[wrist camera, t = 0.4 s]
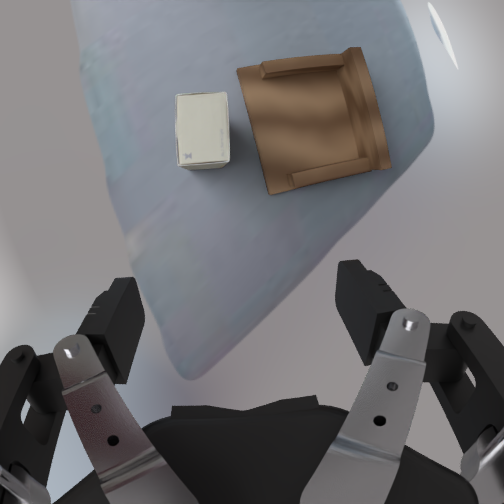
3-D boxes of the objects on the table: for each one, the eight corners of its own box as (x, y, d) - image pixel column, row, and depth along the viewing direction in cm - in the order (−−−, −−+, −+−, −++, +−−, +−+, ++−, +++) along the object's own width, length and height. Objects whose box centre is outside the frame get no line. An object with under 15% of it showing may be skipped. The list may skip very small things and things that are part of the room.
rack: (236, 71, 33) (242, 53, 27) (339, 58, 34) (359, 43, 28) (268, 194, 37) (280, 198, 32) (367, 170, 38) (392, 172, 33)
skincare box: (223, 168, 36) (232, 165, 24) (185, 170, 35) (176, 169, 24) (221, 116, 34) (229, 90, 23) (183, 118, 34) (174, 93, 22)
